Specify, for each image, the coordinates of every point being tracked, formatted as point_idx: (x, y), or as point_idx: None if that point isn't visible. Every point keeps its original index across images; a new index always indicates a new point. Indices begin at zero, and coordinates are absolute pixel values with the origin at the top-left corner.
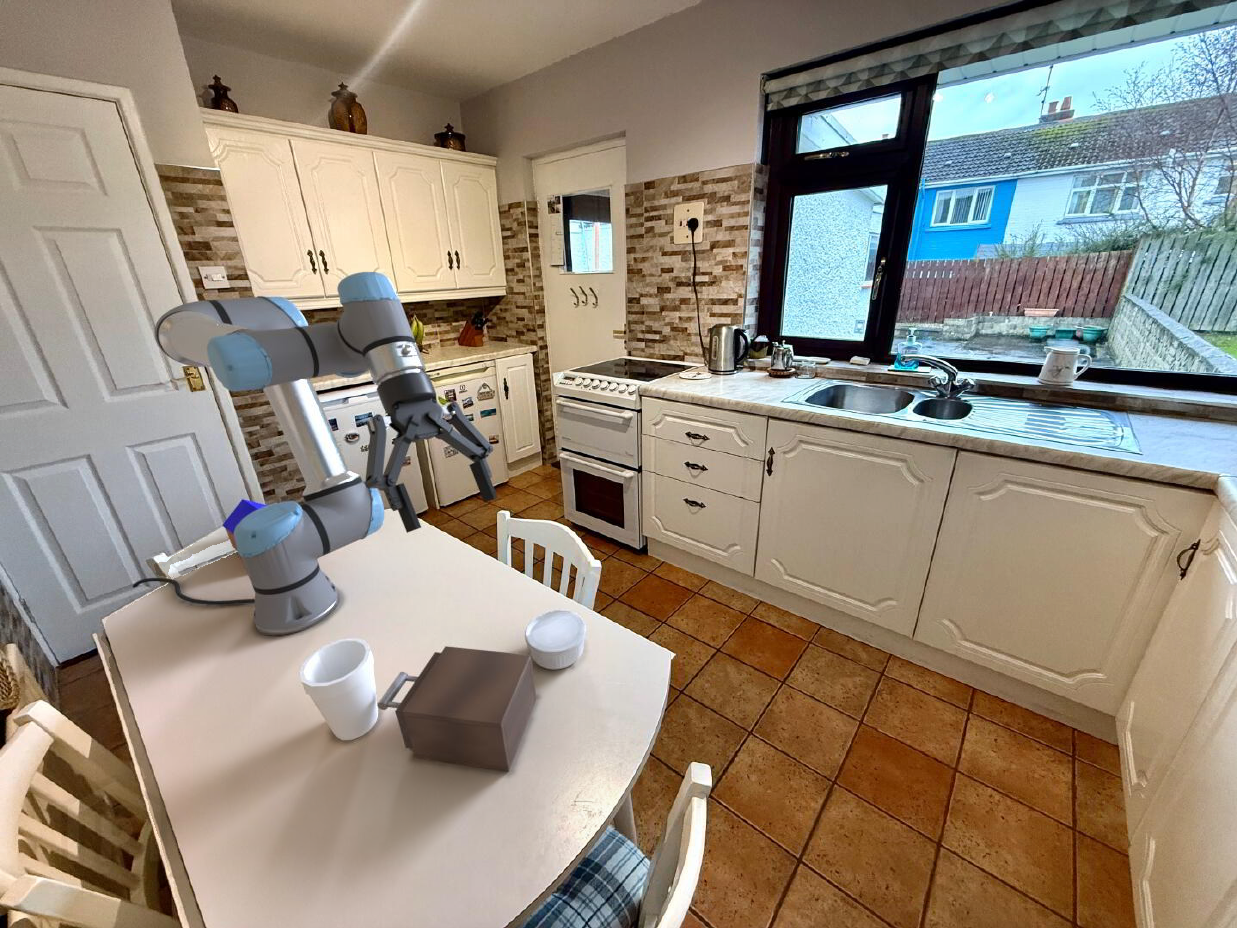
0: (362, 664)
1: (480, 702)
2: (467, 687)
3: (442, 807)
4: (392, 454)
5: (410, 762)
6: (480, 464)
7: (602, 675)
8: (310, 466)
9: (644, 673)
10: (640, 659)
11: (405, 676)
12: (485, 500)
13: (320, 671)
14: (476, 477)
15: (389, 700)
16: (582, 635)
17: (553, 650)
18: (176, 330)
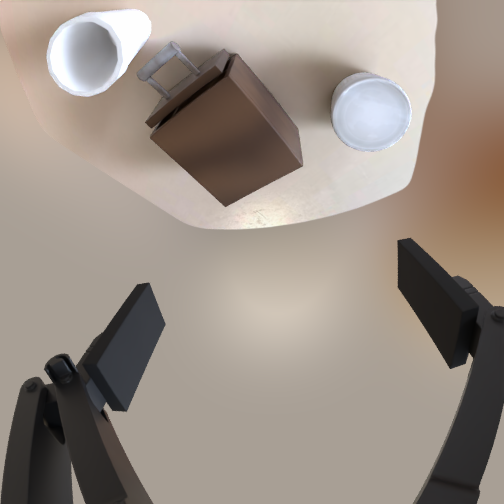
0: (110, 83)
1: (221, 178)
2: (219, 154)
3: None
4: (85, 477)
5: None
6: (443, 357)
7: (363, 157)
8: None
9: (386, 184)
10: (400, 173)
11: (175, 53)
12: (399, 251)
13: (75, 28)
14: (434, 290)
15: (149, 76)
16: (382, 148)
17: (343, 138)
18: None
